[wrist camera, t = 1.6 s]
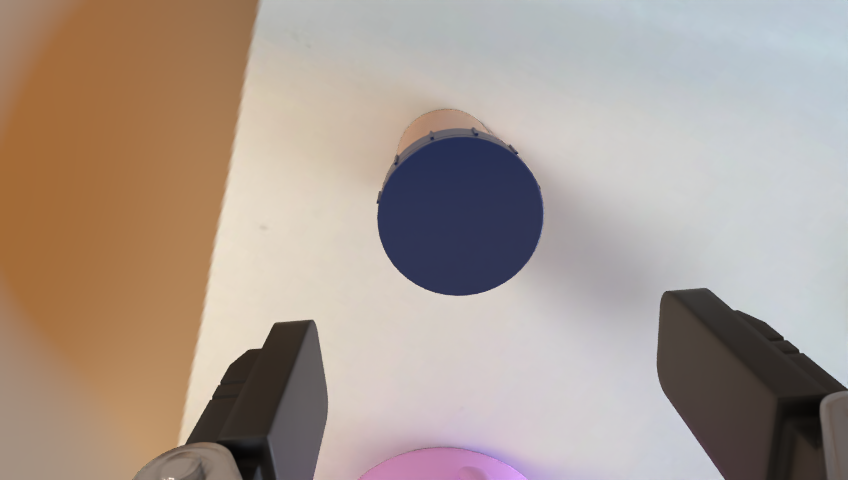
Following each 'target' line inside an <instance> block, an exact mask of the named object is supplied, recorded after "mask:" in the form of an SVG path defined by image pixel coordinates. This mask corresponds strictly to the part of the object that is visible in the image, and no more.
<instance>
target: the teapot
mask: <svg viewBox="0 0 848 480" xmlns="http://www.w3.org/2000/svg"><path fill="white" fill-rule="evenodd" d="M358 480H527V479H526V478H525V477H524V476H523V475H522V474H520V473H519V472H518V471H516V470H515V469H513V468H512V467H510V466H508V465H507V464H505V463H503V462H501V461H499V460H497V459H494V458H492V457H489V456H486V455H484V454H481V453H477V452H473V451H469V450H464V449H457V448H442V447H438V448H425V449H420V450H414V451H411V452H407V453H404V454H401V455H398V456H395V457H393V458H391V459H388V460H386V461H384V462H382V463H381V464H379V465H377V466H375V467H374V468H372V469H370V470H369V471H368V472H366V473H365V474H364V475H362V476H361V477H360V478H359V479H358Z"/></svg>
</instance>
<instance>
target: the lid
mask: <svg viewBox="0 0 848 480" xmlns="http://www.w3.org/2000/svg"><path fill="white" fill-rule="evenodd" d="M429 133H430V134H428V135H426V136H423V137H421V138H420V139H418V140H416V141H415V142H413V143H412V144H411V145H409V146H408V147H407V148H406V149H405V150H404V151H403V152H402V153H401V154H400V155H399V156H398V155H396V156H395V160H394V162H393V164H392V165H391V167H390V169H389V171H388V173H387V175H386V178H385V180H384V183H383V188H382V191H379V195H378V199H377V204H379V205H378V215H377V219H378V230H379V236H380V239H381V242H382V245H383V248H384V250H385V252H386V254H387V256H388V257H389V259H390V260H391V262H392V263H393V265H394V266H395V267H396V268H397V269H398V270H399V272H400V273H402V274H403V275H404V276H405V277H406V278H407V279H409V280H410V281H412V282H413V283H415V284H416V285H418V286H420V287H422V288H424V289H427V290H430V291H432V292H435V293H440V294H444V295H454V296H463V295H472V294H478V293H482V292H485V291H488V290H491V289H493V288H496V287H498V286H499V285H501V284H503V283H505V282H506V281H508V280H509V279H511V278H512V277H513V276H514V275H516V274H517V273H518V272H519V271H520V270H521V269H522V268H523V267H524V265H525V264H526V263H527V262H528V261H529V259H530V258H531V256H532V254H533V253H534V251H535V249H536V247H537V245H538V243H539V240H540V237H541V234H542V228H543V223H544V207H543V200H542V195H541V191H540V186H539V185H538V183H537V181H536V179H535V178H534V176H533V174H532V172H531V171H530V170H529V168H528V167H527V166H526V164H525V163H524V162H523V161H522V160H521V159H520V157H519V156H518V155H517V154H518V152H517V151H516V150H515V149H514V148H513V147H512V146H511V145H509V146H508V145H506V144H505V143H504V142H502V141H501V140H499V139H497V138H496V137H494V136H492V135H490V134H487V133H484V132H481V131H477V130H476V129H475V127H472V129H465V128H451V129H445V130H440V131H437V132H432V131H430V132H429Z"/></svg>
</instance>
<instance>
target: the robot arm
mask: <svg viewBox="0 0 848 480" xmlns="http://www.w3.org/2000/svg"><path fill="white" fill-rule="evenodd" d="M657 372H658V377H659V381H660V384H661V387H662V389H663V391H664V393H665V395H666V396H667V398H668V399H669V401H670V402H671V403H672V405H673V406H674V408H675V409H676V411H677V412H678V413H679V415H680V416H681V418H682V419H683V420H684V422H685V423H686V425H687V426H688V428H689V429H690V430H691V432H692V433H693V435H694V436H695V438H696V439H697V440H698V442H699V443H700V445H701V446H702V447H703V449H704V450H705V452H706V453H707V455H708V456H709V457H710V459H711V460H712V462H713V463H714V465H715V466H716V467H717V469H718V470H719V472H720V473H721V474H722V476H723V477H724V479H725V480H848V389H847V388H846V387H844V386H843V385H842V384H841V383H839V382H838V381H837V380H836V379H834V378H833V377H832V376H831V375H829V374H828V373H827V372H826V371H825V370H823V369H822V368H821V367H820V366H818V365H817V364H816V363H815V362H813V361H812V360H811V359H810V358H809V357H807V356H806V355H805V354H804V353H799V349H797V348H796V347H795V346H794V345H792V344H791V343H790V342H789V341H788V340H785V341H784V337H783V336H781V335H780V334H779V333H778V332H776V331H775V330H774V329H773V328H771V327H770V326H769V325H768V324H767V323H765V322H763V321H761V320H759V319H757V318H754V317H752V316H750V315H748V314H745V313H743V312H741V311H739V310H736V311H734V310H732V309H731V308H730V307H729V306H728V305H726V304H725V303H724V302H723V301H722V300H721V299H719V298H718V297H717V296H716V295H715V294H714V293H712V292H711V291H710V290H709V289H707V288H699V289H687V290H674V291H666V292H665V293H664V294H663V295H662V298H661V303H660V317H659V333H658V349H657ZM220 383H221V384H220V385H218V387H217V389H216V391H215V392H214V394H213V396H212V400H210V401H209V403H208V405H207V406H206V408H205V410H204V412H203V414H202V415H201V417H200V419H199V421H198V422H197V424H196V426H195V428H194V429H193V431H192V433H191V435H190V436H189V438H188V440H187V442H186V444H185V445H183V446H180V447H177V448H174V449H172V450H170V451H167V452H165V453H163V454H161V455H160V456H158V457H156V458H155V459H153V460H152V461H150V462H149V463H148V464H146V465H145V466H144V467H143V468H142V469H141V470H140V471H139V472H138V473H137V474H136V475H135V477H134V478H133V480H313V477H314V472H315V468H316V464H317V459H318V455H319V451H320V446H321V442H322V438H323V433H324V429H325V425H326V420H327V412H328V395H327V386H326V380H325V374H324V368H323V362H322V356H321V350H320V344H319V338H318V332H317V327H316V324H315V322H314V320H302V321H290V322H278V323H275V324H274V325H273V327H272V329H271V331H270V333H269V335H268V337H267V339H266V341H265V343H264V345H263V347H262V349H249V350H248V351H246V352H245V353H244V354H243V355H242V356H240V357H239V358H238V359H237V360H235V361H234V362H233V363H232V364H231V365H230V366H229V368H228V369H227V371H226V373H225V375H224V376H223V378H222V380H221V382H220Z"/></svg>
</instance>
